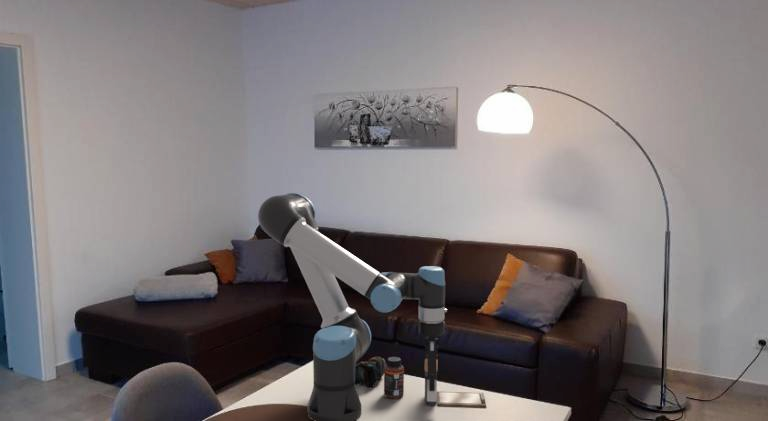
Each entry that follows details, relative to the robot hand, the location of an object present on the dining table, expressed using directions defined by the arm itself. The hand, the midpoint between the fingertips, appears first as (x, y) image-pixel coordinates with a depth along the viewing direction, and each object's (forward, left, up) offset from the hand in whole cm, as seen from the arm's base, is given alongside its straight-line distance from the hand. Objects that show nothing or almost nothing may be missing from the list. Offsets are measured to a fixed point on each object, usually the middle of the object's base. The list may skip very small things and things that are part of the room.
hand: (431, 391), depth 168 cm
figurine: (-19, +16, -4) cm, 25 cm away
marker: (0, 0, -4) cm, 4 cm away
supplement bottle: (-11, +5, -4) cm, 13 cm away
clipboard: (+9, +3, -4) cm, 10 cm away
